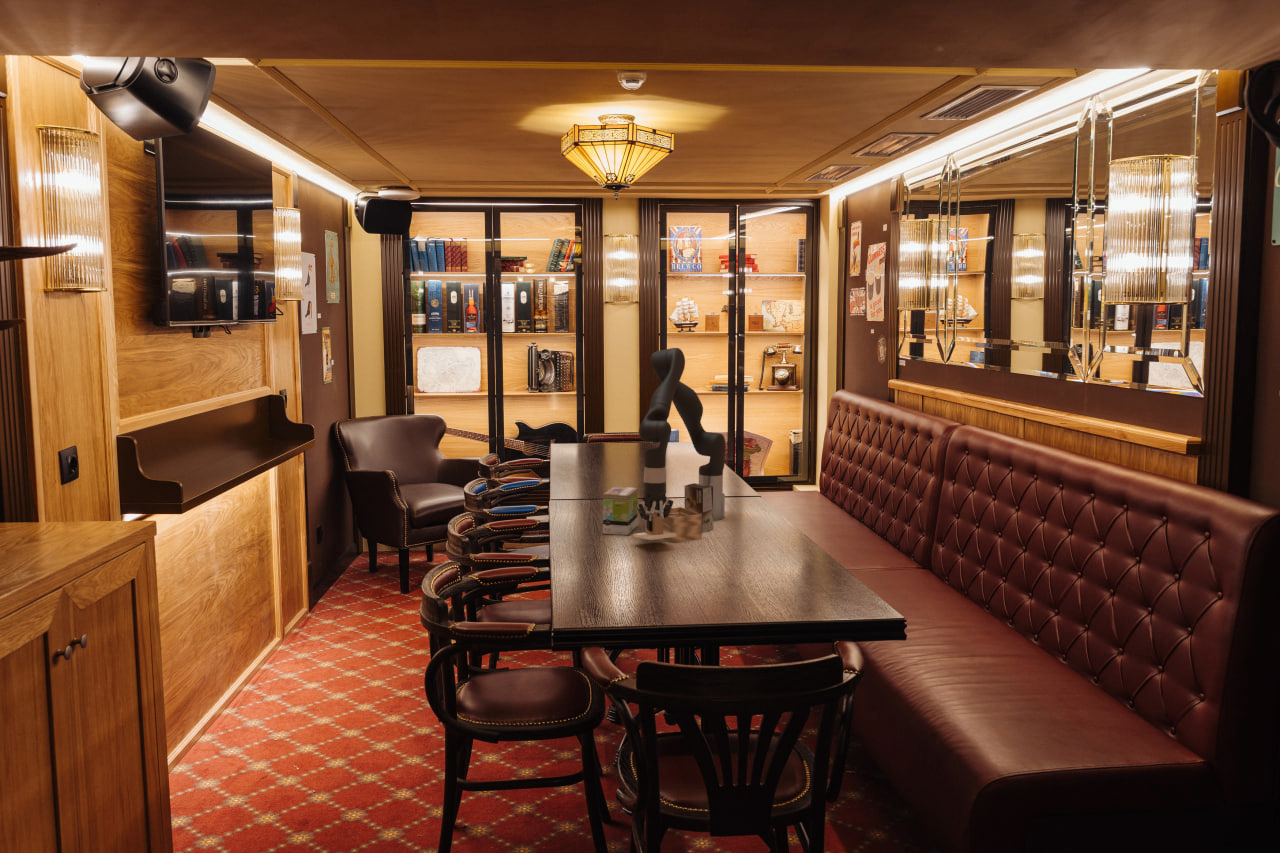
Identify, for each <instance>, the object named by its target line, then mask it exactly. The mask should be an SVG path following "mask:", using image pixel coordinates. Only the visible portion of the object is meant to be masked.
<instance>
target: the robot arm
mask: <svg viewBox="0 0 1280 853" xmlns="http://www.w3.org/2000/svg"><path fill="white" fill-rule="evenodd" d="M650 364H651V367H652V370H653V372H654V374H655V375H656V377H657V379H658V380H659V382H660V384H659V385H658V387H657V388H656V389H655V391H654V392H653V394H652V396H651V399H650V404H649V408H648V411H647V413H646V414H645V416H644V418H643V420H642V421H641V423H640V425H639V429H638V436H639V437H640V439H641V440H642V441H644V442H647V443H648V442H649V443H650V442H652V443H659V444H658V446H657V447H652V448H648V449H646V450H645V451H644V469H643V470H644V471H643V498H642V501H640V502H638V503H636V506H637V509H638V513H639V516H640V518H641V519H642V520H644V521H645V520H646V528H647V530H648V531H649V532H652V518H653V514H654V510H655V511H656V513H657V516H662V518H663V519H664V518H665V517H668V515H669V513H670V510H671V508H673V504H674V500H672V499H669V498H667V496H666V494H667V469H666V466H667V465H666V460H667V459H666V456H667V449H668V445H669V441H670V438H671V435H672V434H671V433H672V426H671V425H670V423H669V422H668V421H667V420H668V418H669V417H670V413H671V408H672V403H673V405H674V407H675V409H676V411H677V413H678V415H679V417H680V418H681V420H682V422H683V424H684V426H685V429H686V430H687V432H688V434H689V437H690V441H691V442H692V445H693V448H694V450H695V451H696V453H697V454H698V455H699V456H703V457H709V462H708V463H706V464H703V465H700V466H699V468H698V484H702V485H708V486H713V521H719V520H722V519H725V515H726V514H725V513H726V512H725V508H726V507H725V506H726V505H725V504H726V503H725V502H726V501H725V500H726V494H725V493H724V489H723V487H724V484H723V483H724V469H725V468H724V467H725V461H726V447H727V446H726V444H727V442H726V439H725V435H724V434H722V433H719V432H709V431H707V430H705V429H704V427H703V425H702V422H701V420H702V417H703V415H704V414H703V413H704V407H703V403H702V402H701V399H700V397H699V396H698V394H697V392H696V391H695V390H694V389H693V388H691V387H690V386H688V385H687V384H685V383H683V382H682V381H681V378H682V376H683V373H684V371H685V367H686V358H685V354H684V352H683V350H682V349H681V348H679V347H670V348H667V349H662V350H657V351H655V352H653V353H652V354H651V356H650ZM645 507H646V508H645Z"/></svg>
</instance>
